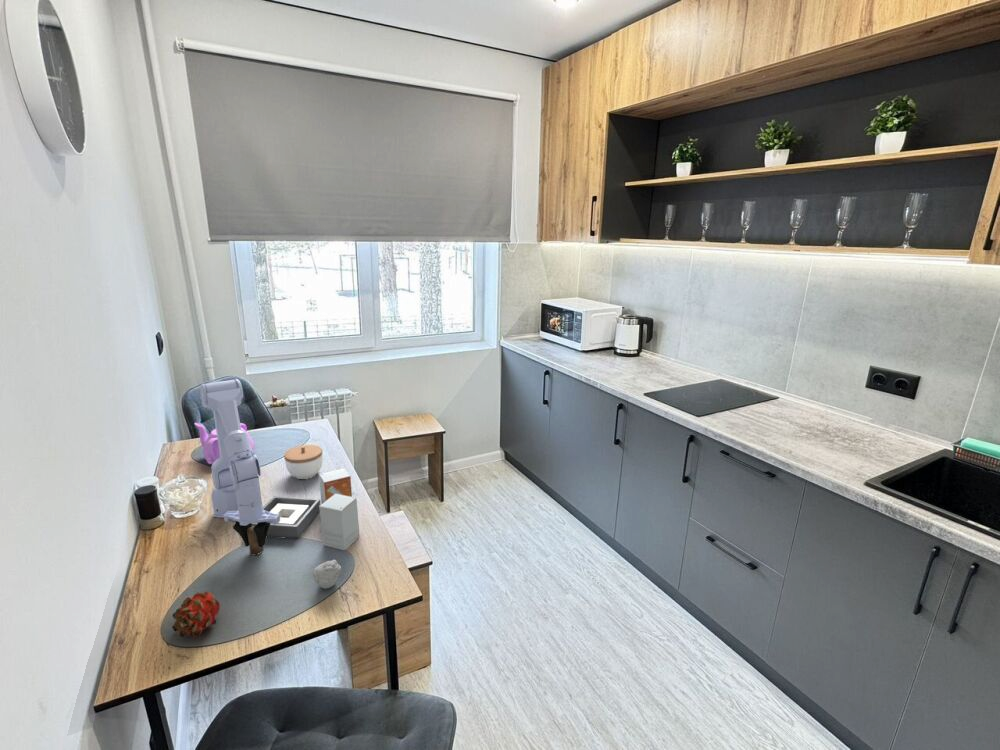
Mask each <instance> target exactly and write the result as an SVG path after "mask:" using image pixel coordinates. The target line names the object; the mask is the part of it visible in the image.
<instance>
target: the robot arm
mask: <svg viewBox="0 0 1000 750" xmlns="http://www.w3.org/2000/svg"><path fill="white" fill-rule="evenodd" d="M243 390H244V389H243V385H242V382H241V381H240V380H239V379H238V378H234V379H229V380H223V381H222V380H221V381H215V382H214V381H213V382H210V383H209V382H208V383H201V384H200V385H199V394H200V398H201V404H202V407H203V408H204V409H208V410H211V411H212V413H213V419H214V423H215V429H216V432H217V438H218V444H219V450H220V458H219V459H218V460H216V461H215V462H214V463H213V464H211V467H210V468H211V478H212V482H213V486H214V488H213V489H212V490H211V501H212V502H211V503H212V508H213V515H212V518H220V519H221V518H223V521H224V522H225V523H226V522H229V521H235V523H234V524H233V526H232V529H233V530H234V531H235V532H236V533H237V534H238V535H239V536H240V538H241V539H242V541H243V543H244V544H245V547H249V541H248V534H247V529H248V528H250V527H252V523H258V524H256V525H255V527H254V528H253V530H254V531H255V533H256V536H257V539H258V545H259V547H262V546H263V547H264V545H265V544H266V543H267V537H266V536H267V532H268V529H269V526H270V524H271V523H273V524H274V525H277V524H278V523H279V521H280V514H274V513H271V512H268V511H265V510H263V507H264V506H263V499H262V493H261V485H260V477H261V475H262V474H261V473H262V471H261V464H260V462H259V459H258V456H257V455H256V452H255V451H253V450H252V447H251V444H250V440H249V437H248V434H249V433H248V432H247V433H248V434H247V433H245V432H243V431H242V430H241V425H240V423H241V420H240V414H239V409H238V407H239V406H240V405H241V404H242V400H243V398H244V392H243Z"/></svg>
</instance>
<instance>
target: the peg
mask: <svg viewBox="0 0 1000 750" xmlns="http://www.w3.org/2000/svg"><path fill="white" fill-rule="evenodd" d="M254 527H255V526H252V527H250V528H248V529H247V534H248V541H249V546H248V548H249V554H250V553H251V554H258V553H260V552H262V551H263V552H264V545H263V546H262V547H259V545H258V539H257V536H256V533H255V531H254V530H253V528H254ZM263 552H262V553H263ZM251 554H250V555H251ZM260 554H261V553H260ZM258 555H259V554H258Z"/></svg>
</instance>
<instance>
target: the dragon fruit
mask: <svg viewBox="0 0 1000 750" xmlns="http://www.w3.org/2000/svg"><path fill="white" fill-rule="evenodd" d="M220 610H221V609H220V602H219V600H217V599H215V596H214V595H213V593H211V592H210V591H207V590H205V591H204V592H199V591H198V592H196V593H195V594H194V595H193V596H192V597H190V596H187V597H186V598H185V599H184V600H183V601H182V602H181V605H180V607H179V608H177V609H176V610H175V612H173V613H172V618H173V619H174V620H175V622H174V623H173V625H172V627H171V628H172V629H171V630H172V631H173V632H178V636H179V637H180V638H184V637H187V636H192V638H193V639H195V638H198V637H200V635H201V634H202V633H203V631H204V630H205V629H208V628H211V627H212V626H216V625H215V624H217V618H216V616H217V615H218V613H219V612H220Z"/></svg>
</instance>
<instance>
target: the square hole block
mask: <svg viewBox="0 0 1000 750" xmlns="http://www.w3.org/2000/svg"><path fill="white" fill-rule="evenodd" d="M320 505H321V498H309V497H295V496H294V497H293V496H280V495H279V496H276V495H273V497H272V498H271V499H270V500H269V501H268V502H267V503H266V504H264V506H263V510H265V511H268V512H271V513H274V514H280V521H279V523H278V524H277V525H274V524H273V523H271V524H270V526H269V529H268V532H267V536H268V537H267V538H276V537H285V538H284V539H291V538H295V540H299V539H300V538H301V537H302V535H303V534H304V533H305V531H306V530H307V529H308V527H309V526H311V524H312V522H313V521H315V519H316V518H317V517H318V515H320V509H319V506H320ZM256 524H258V523H252V526H255V525H256ZM299 537H300V538H299Z"/></svg>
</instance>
